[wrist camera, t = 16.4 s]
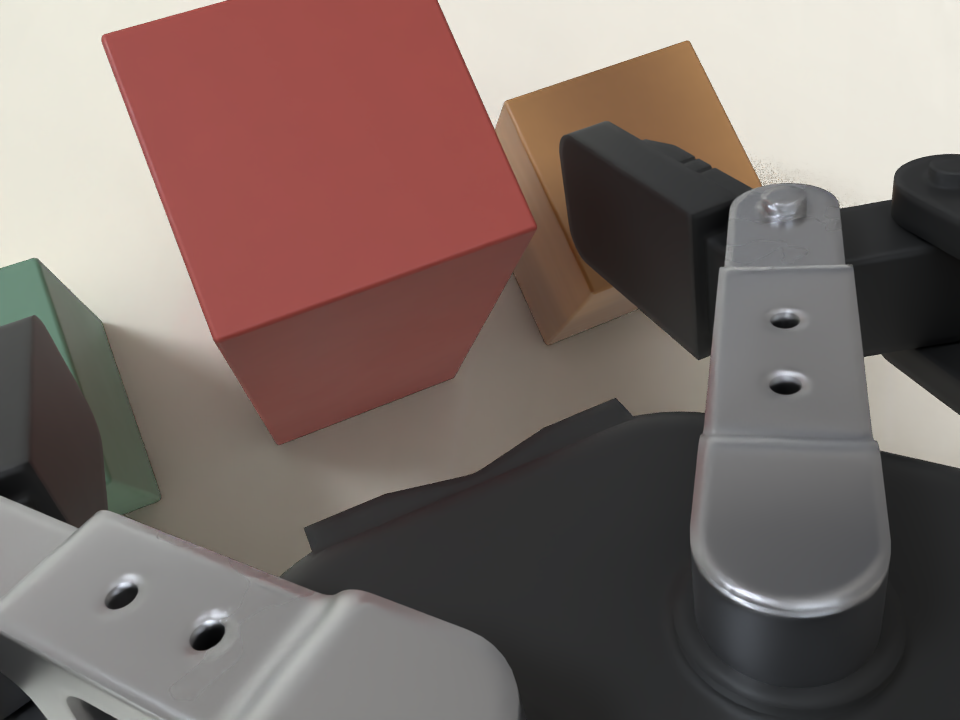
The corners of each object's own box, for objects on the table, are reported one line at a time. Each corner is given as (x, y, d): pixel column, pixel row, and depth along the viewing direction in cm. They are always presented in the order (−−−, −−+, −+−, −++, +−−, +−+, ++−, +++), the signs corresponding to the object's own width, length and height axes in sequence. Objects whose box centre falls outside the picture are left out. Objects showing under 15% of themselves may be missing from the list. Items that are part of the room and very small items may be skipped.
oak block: (545, 347, 20) (593, 295, 16) (472, 183, 21) (501, 95, 17) (701, 284, 21) (781, 220, 17) (626, 129, 21) (687, 33, 18)
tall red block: (277, 446, 19) (214, 343, 10) (209, 268, 19) (95, 25, 11) (455, 377, 20) (540, 227, 11) (385, 208, 20) (411, -61, 12)
